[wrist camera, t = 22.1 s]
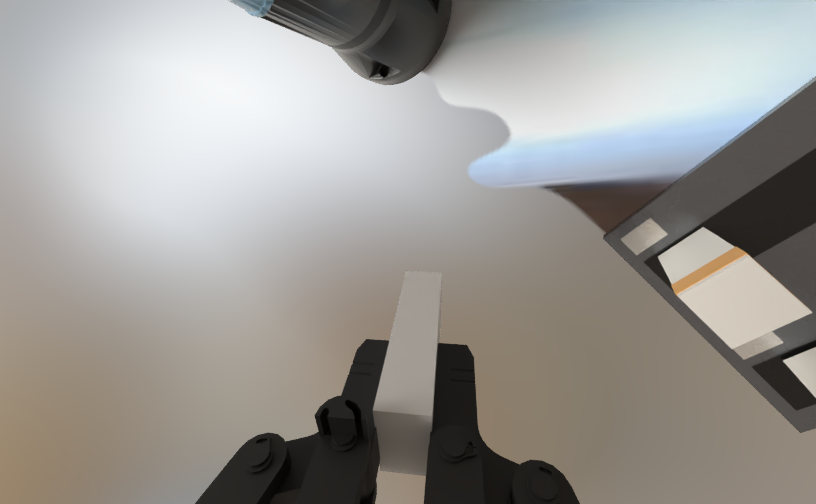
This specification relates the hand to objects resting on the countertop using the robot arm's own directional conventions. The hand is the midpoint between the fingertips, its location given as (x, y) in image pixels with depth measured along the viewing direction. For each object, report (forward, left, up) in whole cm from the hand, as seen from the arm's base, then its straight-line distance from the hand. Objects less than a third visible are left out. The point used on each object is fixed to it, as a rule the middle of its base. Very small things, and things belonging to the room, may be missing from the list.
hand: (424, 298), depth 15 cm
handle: (+11, +8, -25) cm, 28 cm away
